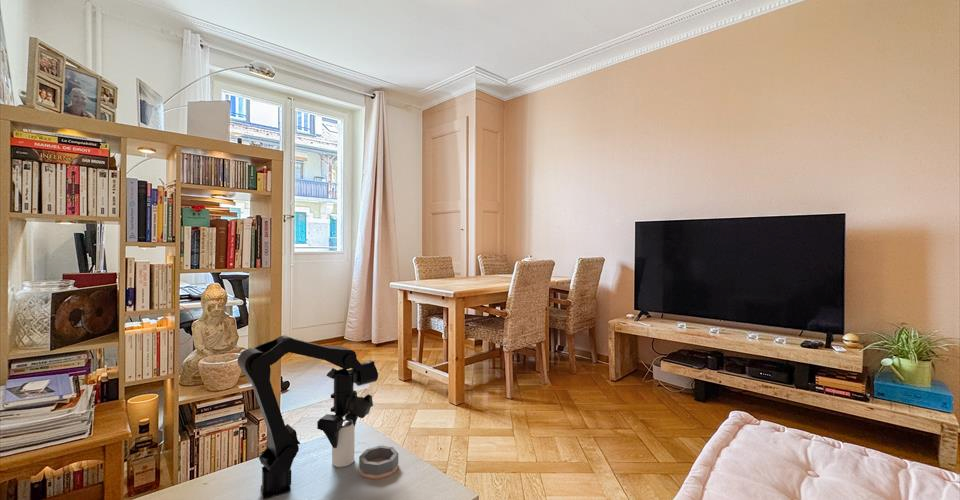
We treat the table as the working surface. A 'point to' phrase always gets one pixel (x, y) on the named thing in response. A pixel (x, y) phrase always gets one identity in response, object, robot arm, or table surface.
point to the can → (344, 445)
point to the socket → (378, 462)
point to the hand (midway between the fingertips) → (343, 440)
